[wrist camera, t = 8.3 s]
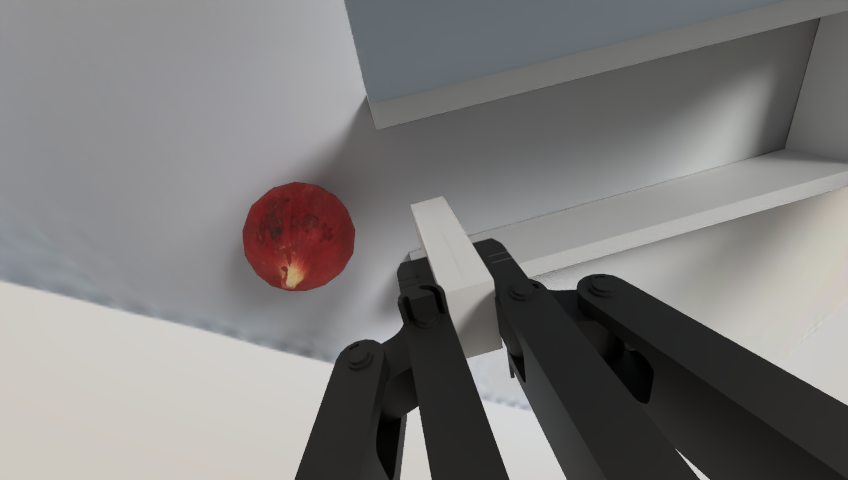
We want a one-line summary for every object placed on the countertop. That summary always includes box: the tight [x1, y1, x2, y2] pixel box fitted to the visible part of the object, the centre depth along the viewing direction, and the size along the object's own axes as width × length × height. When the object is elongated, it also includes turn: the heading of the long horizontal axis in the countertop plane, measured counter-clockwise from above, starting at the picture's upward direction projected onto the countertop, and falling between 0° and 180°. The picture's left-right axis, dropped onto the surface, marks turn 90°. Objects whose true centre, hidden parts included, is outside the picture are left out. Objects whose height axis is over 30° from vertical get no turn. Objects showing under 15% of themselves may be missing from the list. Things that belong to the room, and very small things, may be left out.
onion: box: [243, 182, 355, 291], centre depth 19 cm, size 6×6×8 cm
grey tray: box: [366, 0, 848, 278], centre depth 22 cm, size 12×31×5 cm, turn 102°
